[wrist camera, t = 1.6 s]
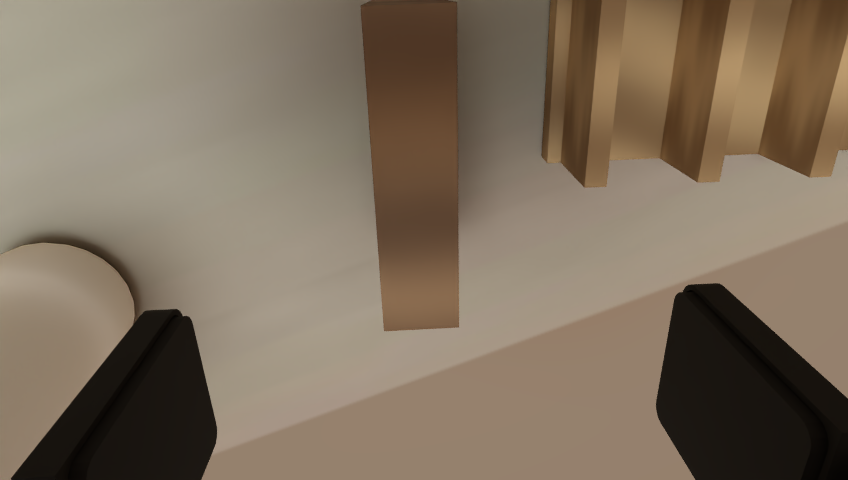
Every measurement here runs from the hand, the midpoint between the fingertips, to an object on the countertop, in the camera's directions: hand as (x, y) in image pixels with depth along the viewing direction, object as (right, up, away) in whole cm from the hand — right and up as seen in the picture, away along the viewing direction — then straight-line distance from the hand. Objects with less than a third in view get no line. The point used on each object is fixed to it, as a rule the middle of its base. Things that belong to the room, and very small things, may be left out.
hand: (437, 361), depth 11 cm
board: (-1, +8, +18) cm, 20 cm away
